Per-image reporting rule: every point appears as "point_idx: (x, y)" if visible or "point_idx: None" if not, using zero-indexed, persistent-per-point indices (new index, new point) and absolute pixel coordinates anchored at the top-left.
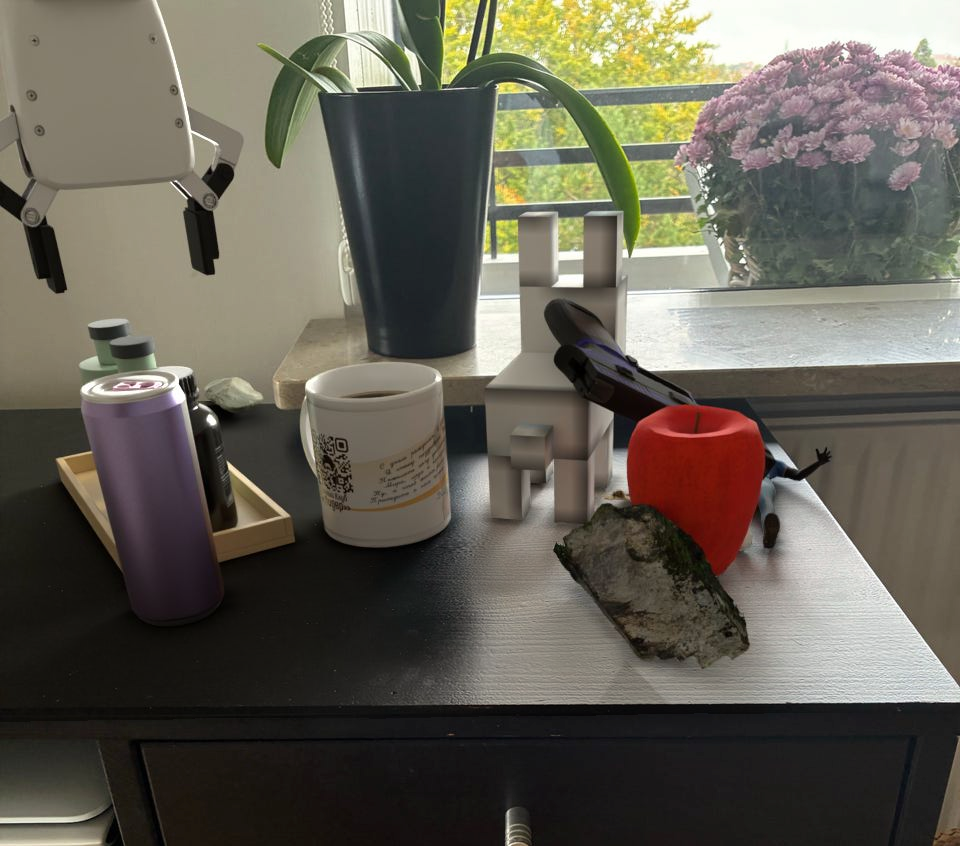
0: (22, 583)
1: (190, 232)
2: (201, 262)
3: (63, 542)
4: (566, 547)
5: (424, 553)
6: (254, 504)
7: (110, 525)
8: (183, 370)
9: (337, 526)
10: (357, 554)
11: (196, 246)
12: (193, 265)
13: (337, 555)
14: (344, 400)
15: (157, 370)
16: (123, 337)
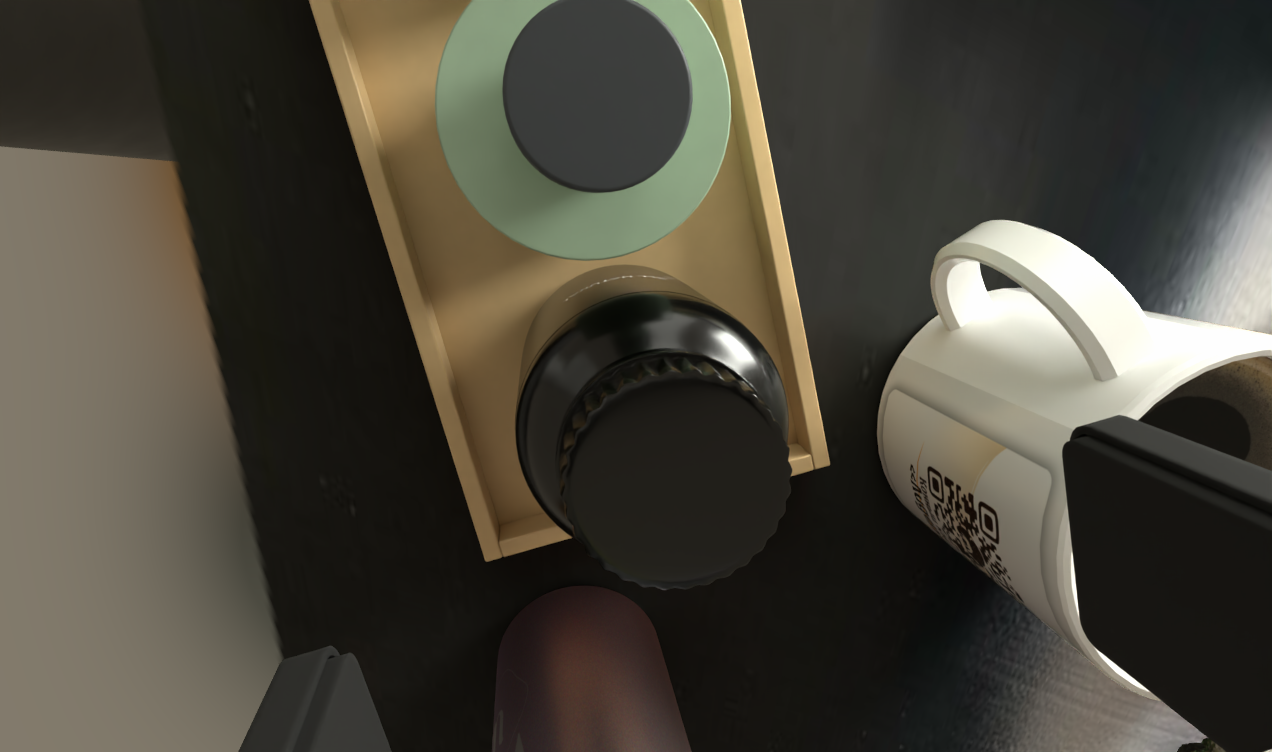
0: (260, 447)
1: (1230, 600)
2: (1118, 641)
3: (319, 253)
4: (1209, 739)
5: None
6: (765, 272)
7: (429, 242)
8: (763, 468)
9: (903, 496)
10: (904, 539)
11: (1174, 638)
12: (1076, 476)
13: (870, 531)
14: (1118, 683)
15: (677, 420)
16: (564, 14)
